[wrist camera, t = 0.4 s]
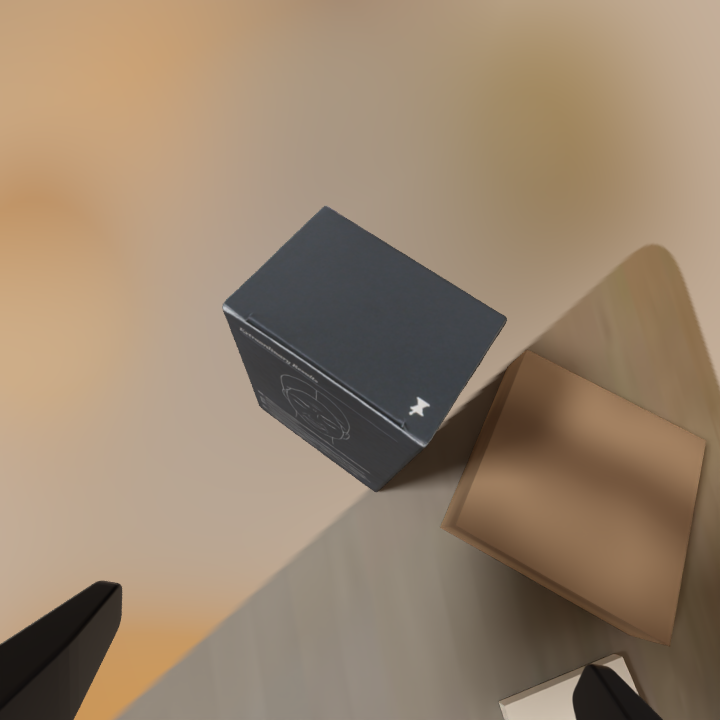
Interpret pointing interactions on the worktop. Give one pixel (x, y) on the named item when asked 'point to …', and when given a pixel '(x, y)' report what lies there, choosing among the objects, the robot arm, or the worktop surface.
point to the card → (556, 695)
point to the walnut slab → (582, 495)
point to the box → (357, 345)
